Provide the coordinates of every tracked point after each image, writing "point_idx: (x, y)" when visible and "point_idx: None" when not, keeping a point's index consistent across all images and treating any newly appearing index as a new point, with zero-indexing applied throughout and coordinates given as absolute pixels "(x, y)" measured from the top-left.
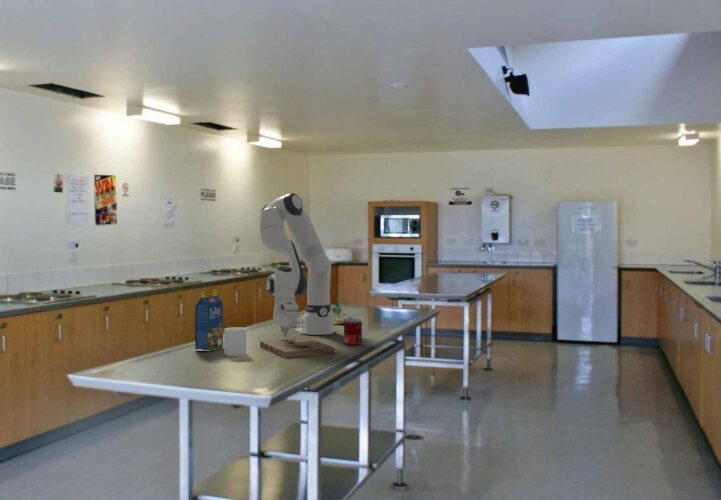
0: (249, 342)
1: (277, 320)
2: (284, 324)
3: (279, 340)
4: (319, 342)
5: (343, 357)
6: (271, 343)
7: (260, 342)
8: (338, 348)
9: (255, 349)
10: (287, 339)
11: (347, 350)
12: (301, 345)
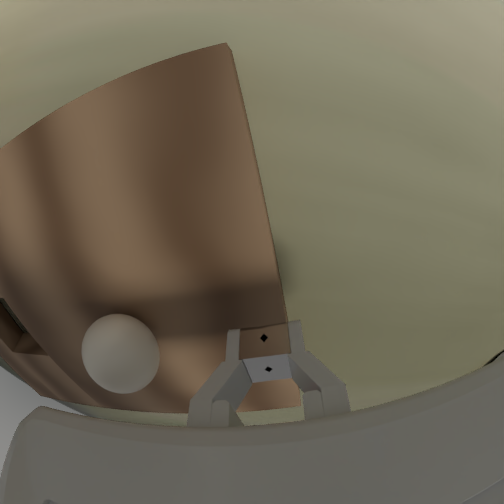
0: (501, 60)
1: (420, 449)
2: (116, 447)
3: (247, 265)
4: (139, 410)
5: (11, 370)
6: (70, 169)
7: (217, 46)
8: (147, 416)
9: (122, 12)
10: (97, 320)
11: (112, 417)
12: (38, 337)
